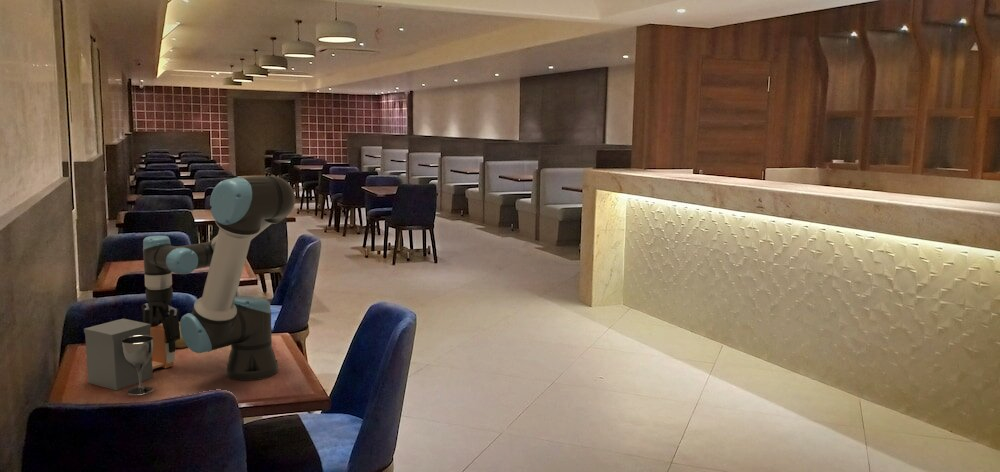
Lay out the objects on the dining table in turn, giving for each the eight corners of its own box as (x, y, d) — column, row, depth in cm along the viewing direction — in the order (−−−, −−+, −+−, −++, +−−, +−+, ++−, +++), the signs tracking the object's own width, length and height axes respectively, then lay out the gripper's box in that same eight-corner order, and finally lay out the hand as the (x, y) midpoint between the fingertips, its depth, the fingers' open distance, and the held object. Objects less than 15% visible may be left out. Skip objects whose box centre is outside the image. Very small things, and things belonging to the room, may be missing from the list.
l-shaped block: (174, 365, 235) (172, 327, 233) (143, 375, 225) (141, 336, 223) (160, 362, 238) (158, 324, 236) (129, 372, 228) (127, 333, 226)
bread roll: (165, 338, 263) (164, 316, 262) (199, 343, 258) (198, 321, 257) (143, 346, 255) (141, 322, 253) (178, 351, 249) (177, 328, 248)
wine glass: (118, 393, 212) (114, 341, 210) (140, 384, 220) (137, 333, 217) (140, 397, 209) (137, 344, 207) (162, 388, 217) (159, 337, 214)
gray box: (154, 377, 225) (151, 323, 223) (115, 390, 214) (112, 334, 211) (127, 370, 231) (123, 318, 228) (87, 383, 219) (83, 328, 217)
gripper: (191, 288, 230) (194, 361, 234) (147, 280, 239) (151, 352, 242) (171, 293, 224) (174, 368, 227) (126, 285, 232) (130, 358, 236)
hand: (162, 360), depth 235 cm, fingers closed on l-shaped block, 6 cm apart
